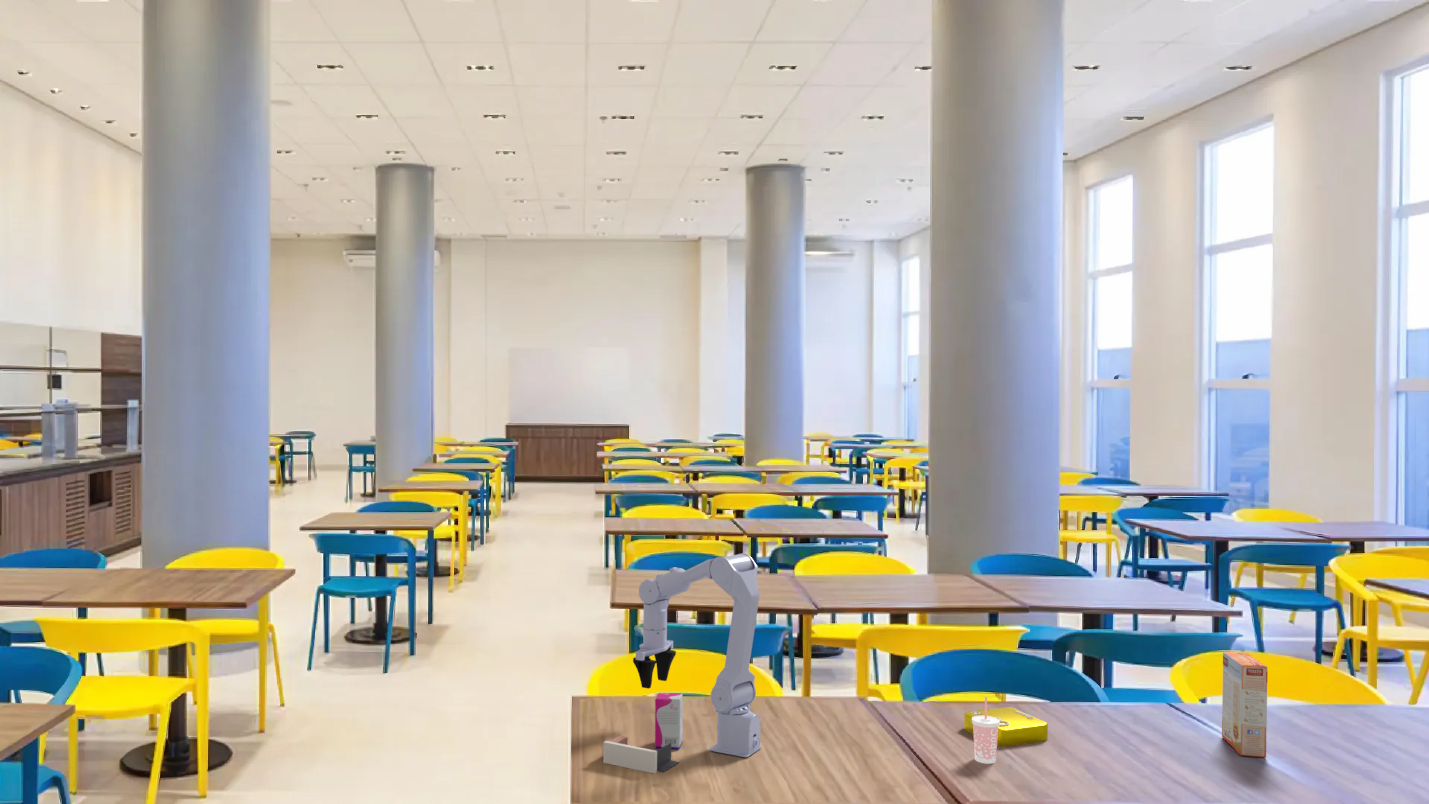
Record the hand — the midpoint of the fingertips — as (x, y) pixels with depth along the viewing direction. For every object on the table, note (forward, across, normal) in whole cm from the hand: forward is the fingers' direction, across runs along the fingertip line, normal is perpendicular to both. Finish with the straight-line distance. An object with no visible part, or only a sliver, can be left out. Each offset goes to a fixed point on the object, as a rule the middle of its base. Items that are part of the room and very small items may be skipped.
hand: (654, 684), depth 242 cm
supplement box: (+11, +10, +10) cm, 18 cm away
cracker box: (+11, -56, +127) cm, 139 cm away
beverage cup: (+11, -17, +76) cm, 79 cm away
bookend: (+10, +22, +17) cm, 30 cm away
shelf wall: (+10, +26, +10) cm, 30 cm away
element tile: (+11, -38, +76) cm, 86 cm away
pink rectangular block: (+10, +22, +3) cm, 25 cm away
